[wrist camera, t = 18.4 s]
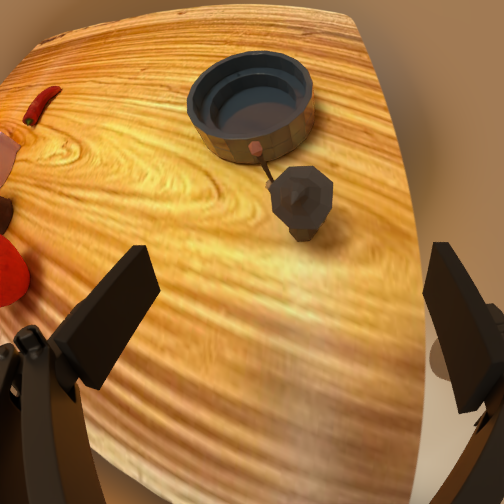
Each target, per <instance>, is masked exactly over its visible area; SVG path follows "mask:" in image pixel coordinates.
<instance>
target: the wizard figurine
mask: <svg viewBox="0 0 504 504" xmlns="http://www.w3.org/2000/svg"><path fill="white" fill-rule="evenodd" d="M248 147H249V149H250V152H251V154H252V155H255V156H256V157H257V159H258V160H259V162H260V164H261V166H262V167H263V169H264V171H265V172H266V174H267V176H268V178H269V179H270V180H268V181H267V182H266V188H267V189H268V190H269V192H270V194H271V201H272V211H273V213H274V214H275V215H276V216H277V217H278V218H280V219H281V220H282V221H283V222H284V223H285V224H286V225H287V226H288V227H289V232H290V233H291V235H292V236H293V237H294V238H295V239H296V241H310V240H311V238H312V237H313V236H314V235H315V233H316V232H317V231H318V228H319V227H320V226H322V224H323V223H324V222H325V219H326V217H327V215H328V213H329V212H330V210H331V209H332V198H333V182H332V181H331V180H330V179H328V178H327V177H326V176H325V175H324V174H322V173H321V172H320V171H319V170H317V169H316V168H315V167H314V166H296V167H288V168H287V169H286V170H285V171H284V172H283V173H282V174H281V175H280V176H279V177H278V178H277V179H276V180H273V178H272V175H271V173H270V171H269V169H268V166H267V164H266V162H265V160H264V157H263V155H262V150H263V149H262V147H261V145H260V142H259V141H252V142H251V143H250V144H249V146H248Z"/></svg>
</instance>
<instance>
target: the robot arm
mask: <svg viewBox="0 0 504 504" xmlns="http://www.w3.org/2000/svg"><path fill="white" fill-rule="evenodd" d="M160 291H161V290H160V287H159V285H158V282H157V279H156V276H155V272H154V269H153V266H152V263H151V260H150V257H149V254H148V250H147V247H146V245H133V246H132V247H131V248H130V249H129V250H128V252H127V253H126V254H125V255H124V256H123V257H122V258H121V259H120V260H119V261H118V262H117V263H116V265H115V266H114V267H113V268H112V269H111V270H110V271H109V272H108V273H107V275H106V276H105V277H104V278H103V279H102V280H101V281H100V282H99V284H98V285H97V286H96V287H95V288H94V289H93V290H92V292H91V293H90V294H89V295H88V296H87V297H86V298H85V299H84V300H82V301H81V302H80V303H78V304H77V305H76V306H75V307H74V308H73V310H72V311H71V312H70V314H68V316H67V317H66V318H65V320H63V322H62V323H61V324H60V325H59V327H58V328H57V329H56V330H55V332H54V333H53V334H52V335H51V337H50V338H49V339H48V340H46V339H45V337H44V336H43V334H42V333H41V331H40V329H39V328H38V327H37V326H36V325H29V326H26V327H24V328H22V329H21V330H20V331H19V332H18V333H17V334H16V336H15V337H14V340H13V341H14V343H15V344H16V346H17V347H18V349H19V350H20V352H18V351H17V350H16V348H15V347H14V345H13V344H11V343H6V344H3V345H1V346H0V504H106V502H105V498H104V496H103V493H102V489H101V486H100V482H99V479H98V476H97V472H96V469H95V465H94V461H93V457H92V453H91V449H90V444H89V440H88V435H87V430H86V425H85V420H84V415H83V409H82V403H81V397H80V390H79V387H78V384H77V383H76V381H77V379H78V378H80V379H81V380H82V382H83V383H84V384H85V386H87V387H90V388H93V389H97V390H100V388H101V387H102V385H103V383H104V382H105V380H106V378H107V376H108V375H109V373H110V371H111V370H112V368H113V366H114V365H115V363H116V361H117V360H118V358H119V356H120V355H121V353H122V351H123V350H124V348H125V346H126V345H127V343H128V342H129V340H130V338H131V337H132V335H133V334H134V332H135V330H136V329H137V327H138V326H139V324H140V322H141V321H142V319H143V318H144V316H145V314H146V313H147V311H148V310H149V308H150V307H151V305H152V304H153V302H154V300H155V299H156V297H157V296H158V294H159V293H160ZM422 294H423V296H424V299H425V302H426V304H427V307H428V310H429V312H430V315H431V318H432V321H433V324H434V327H435V330H436V333H437V336H438V339H439V342H440V345H441V349H442V352H443V355H444V358H445V362H446V365H447V369H448V372H449V376H450V380H451V384H452V388H453V391H454V395H455V400H456V404H457V408H458V413H459V414H462V413H468V412H473V411H477V410H478V408H479V407H480V406H481V404H482V403H483V402H484V403H485V406H486V411H485V412H484V413H483V415H482V416H481V417H480V418H479V419H478V421H477V422H476V423H475V424H474V426H477V427H476V429H475V431H474V433H473V435H472V437H471V439H470V441H469V442H468V444H467V446H466V448H465V450H464V451H463V453H462V455H461V456H460V458H459V460H458V461H457V463H456V465H455V466H454V468H453V470H452V471H451V473H450V474H449V476H448V477H447V479H446V480H445V482H444V483H443V485H442V486H441V488H440V489H439V490H438V492H437V493H436V495H435V496H434V498H433V499H432V500H431V502H430V503H429V504H500V503H501V501H502V500H503V498H504V314H503V313H502V311H501V310H500V309H499V308H497V307H496V306H495V305H494V304H493V303H492V304H485V302H484V300H483V298H482V297H481V295H480V293H479V291H478V289H477V288H476V286H475V284H474V282H473V281H472V279H471V277H470V276H469V274H468V273H467V271H466V269H465V268H464V266H463V264H462V263H461V261H460V260H459V258H458V256H457V255H456V253H455V252H454V250H453V249H452V247H451V246H450V244H449V243H448V242H433V246H432V252H431V257H430V262H429V267H428V272H427V276H426V280H425V285H424V289H423V293H422ZM11 385H12V386H13V387H14V388H15V389H16V391H17V395H16V396H15V395H13V393H12V392H11V391H10V388H11Z"/></svg>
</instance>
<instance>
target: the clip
mask: <svg viewBox="0 0 504 504" xmlns="http://www.w3.org/2000/svg"><path fill="white" fill-rule="evenodd" d="M19 149H20V145H19V144H18V143H16V142H15V141H13V140H12V139H11V138H9V137H8V136H6V135H5V134H4V133H2V132H0V188H1V186H2V185H3V184H4V182H5V181H6V179H7V177H8V175H9V173H10V171H11V169H12V167H13V164H14V160H15V156H16V152H17V151H18V150H19Z"/></svg>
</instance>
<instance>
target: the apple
mask: <svg viewBox="0 0 504 504" xmlns="http://www.w3.org/2000/svg"><path fill="white" fill-rule="evenodd" d="M29 283H30V273H29V270H28V267H27V265H26V263H25V261H24V260H23V258H22V257H21V255H20V254H19V252H18V251H17V249H16V248H15V247H14V246H13V245H12V244H11V242H10V241H9V240H8V239H6V238H5V237H4V236H2V235H1V234H0V307H4V306H7V305H10V304H12V303H14V302H15V301H17V300H18V299H20V298H21V297H22V296H23V295H24V294H25V293H26V291H27V289H28V287H29Z"/></svg>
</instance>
